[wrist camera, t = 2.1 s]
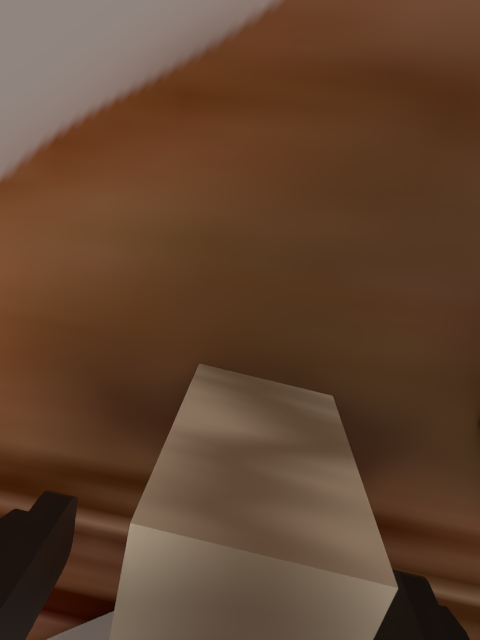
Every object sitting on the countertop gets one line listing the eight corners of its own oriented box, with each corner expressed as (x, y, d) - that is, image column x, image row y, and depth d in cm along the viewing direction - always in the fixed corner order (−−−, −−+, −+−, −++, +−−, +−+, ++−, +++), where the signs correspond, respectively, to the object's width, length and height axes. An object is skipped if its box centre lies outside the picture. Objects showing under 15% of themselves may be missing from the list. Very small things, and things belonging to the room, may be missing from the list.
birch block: (332, 395, 13) (397, 588, 7) (295, 503, 15) (318, 750, 8) (199, 362, 13) (130, 522, 7) (175, 473, 15) (98, 697, 8)
